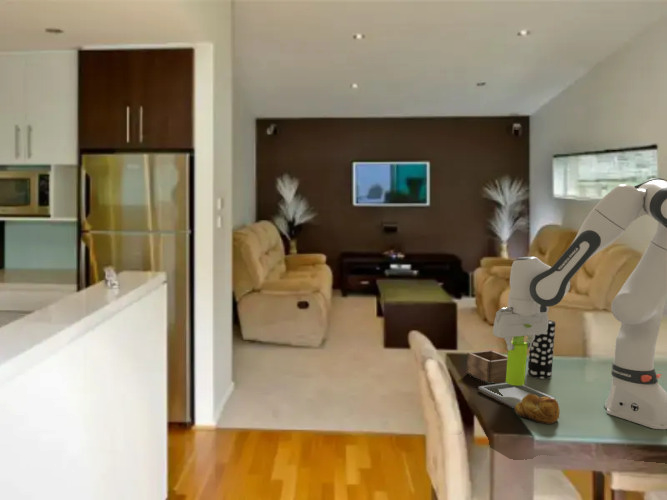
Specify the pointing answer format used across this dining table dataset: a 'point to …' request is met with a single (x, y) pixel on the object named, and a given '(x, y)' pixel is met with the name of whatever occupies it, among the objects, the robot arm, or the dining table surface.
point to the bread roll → (538, 409)
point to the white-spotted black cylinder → (542, 353)
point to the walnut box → (488, 365)
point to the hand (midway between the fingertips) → (519, 348)
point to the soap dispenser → (517, 361)
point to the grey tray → (512, 393)
